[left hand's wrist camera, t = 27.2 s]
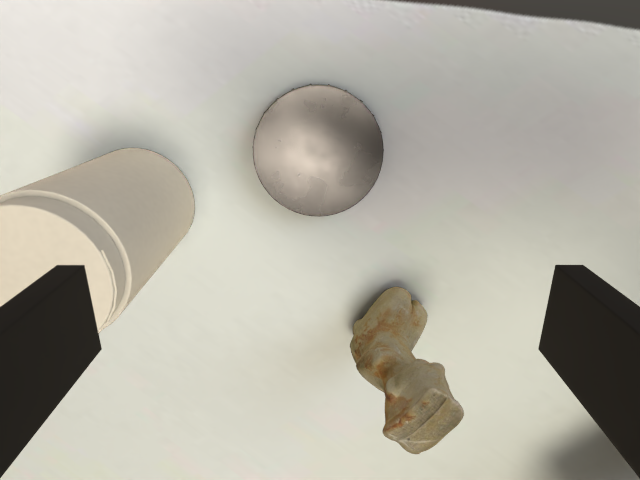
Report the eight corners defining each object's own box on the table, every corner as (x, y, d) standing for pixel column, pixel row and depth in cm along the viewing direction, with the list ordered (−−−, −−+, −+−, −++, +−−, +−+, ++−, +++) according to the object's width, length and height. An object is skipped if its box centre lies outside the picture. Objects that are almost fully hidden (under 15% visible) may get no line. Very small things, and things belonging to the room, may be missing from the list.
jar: (114, 263, 41) (-1, 371, 26) (66, 165, 38) (-96, 225, 23) (210, 236, 40) (147, 333, 25) (169, 134, 37) (69, 176, 22)
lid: (405, 124, 36) (409, 127, 35) (341, 230, 40) (342, 238, 38) (291, 58, 35) (290, 57, 33) (234, 174, 38) (230, 180, 36)
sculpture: (433, 311, 42) (489, 430, 28) (377, 356, 44) (403, 490, 30) (392, 271, 41) (430, 376, 27) (335, 320, 43) (343, 442, 29)
